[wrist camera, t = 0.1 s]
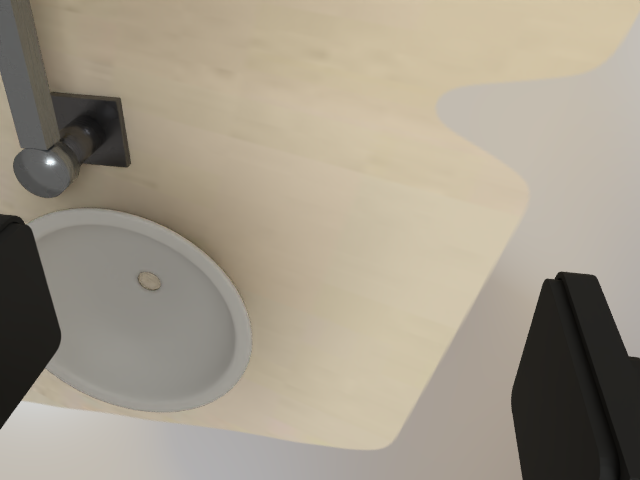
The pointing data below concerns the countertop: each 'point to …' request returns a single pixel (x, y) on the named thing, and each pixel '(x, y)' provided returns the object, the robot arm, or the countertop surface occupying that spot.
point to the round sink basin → (140, 312)
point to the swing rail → (32, 106)
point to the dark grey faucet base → (92, 128)
